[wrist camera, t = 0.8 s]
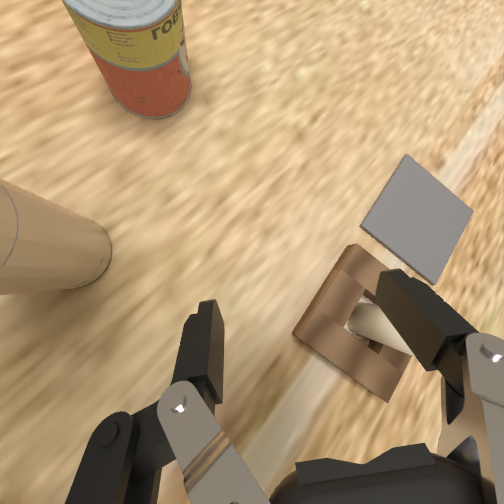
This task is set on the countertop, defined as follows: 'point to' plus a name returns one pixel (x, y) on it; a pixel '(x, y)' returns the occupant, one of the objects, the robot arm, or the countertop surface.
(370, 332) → the cream cylinder
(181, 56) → the canned food
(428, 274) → the grey mat
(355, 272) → the walnut holder
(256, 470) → the countertop surface
